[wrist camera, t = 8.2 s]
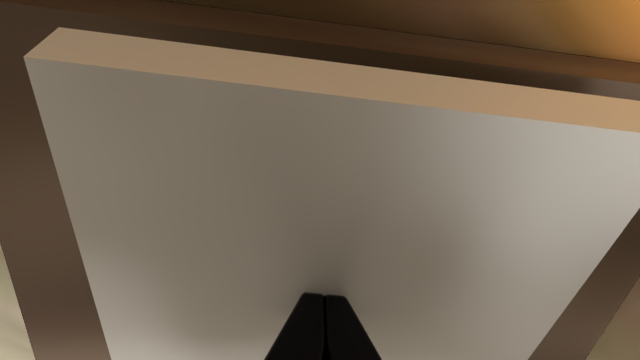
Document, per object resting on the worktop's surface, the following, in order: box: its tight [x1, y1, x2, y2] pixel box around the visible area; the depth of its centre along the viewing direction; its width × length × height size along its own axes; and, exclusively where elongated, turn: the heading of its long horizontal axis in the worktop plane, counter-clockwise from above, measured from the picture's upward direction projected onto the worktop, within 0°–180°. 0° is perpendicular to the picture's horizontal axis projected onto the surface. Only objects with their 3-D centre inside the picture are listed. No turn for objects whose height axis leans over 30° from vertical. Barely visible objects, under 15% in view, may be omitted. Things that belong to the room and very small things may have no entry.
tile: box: [24, 27, 640, 360], centre depth 10 cm, size 10×9×1 cm
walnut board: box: [0, 0, 640, 360], centre depth 13 cm, size 16×15×2 cm
